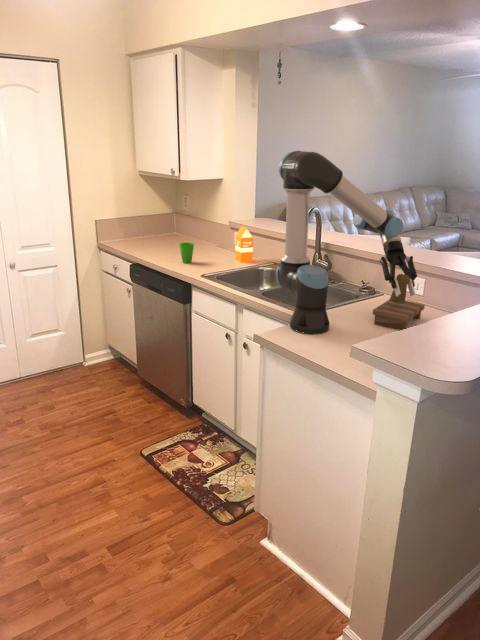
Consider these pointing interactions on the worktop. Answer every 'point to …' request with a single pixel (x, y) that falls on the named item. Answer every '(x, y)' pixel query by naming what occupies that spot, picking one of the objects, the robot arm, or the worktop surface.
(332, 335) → the worktop surface
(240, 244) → the orange juice
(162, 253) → the worktop surface
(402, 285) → the cork
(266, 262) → the worktop surface
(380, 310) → the walnut shelf
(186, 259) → the cup
